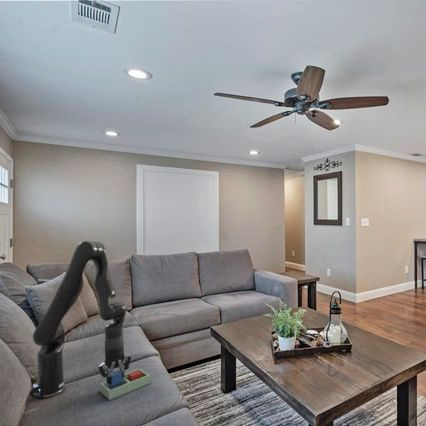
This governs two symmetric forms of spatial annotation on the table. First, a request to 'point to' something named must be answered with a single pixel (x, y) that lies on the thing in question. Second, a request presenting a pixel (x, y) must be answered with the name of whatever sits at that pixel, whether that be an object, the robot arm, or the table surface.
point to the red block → (134, 376)
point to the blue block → (116, 377)
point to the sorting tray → (124, 385)
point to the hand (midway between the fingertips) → (115, 381)
